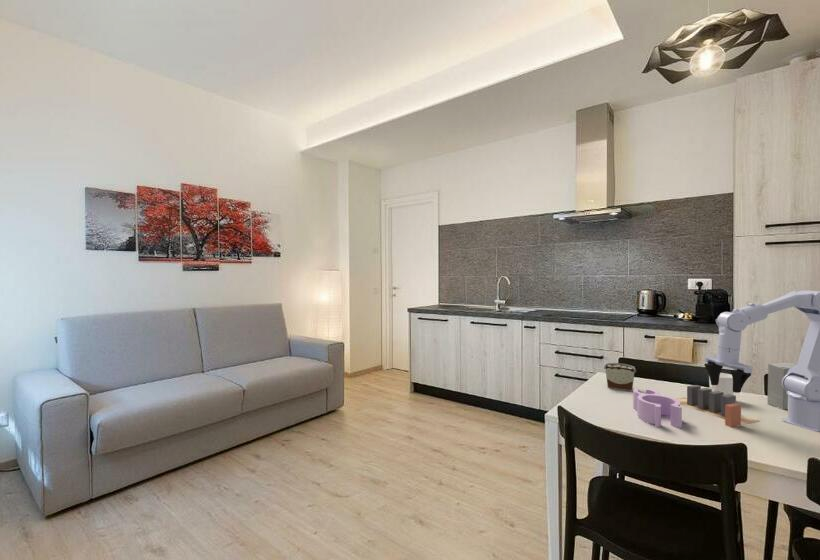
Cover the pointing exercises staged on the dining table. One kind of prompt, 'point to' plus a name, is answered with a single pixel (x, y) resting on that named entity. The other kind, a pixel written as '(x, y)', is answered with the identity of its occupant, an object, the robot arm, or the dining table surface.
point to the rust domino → (732, 415)
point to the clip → (656, 407)
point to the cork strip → (743, 419)
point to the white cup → (723, 384)
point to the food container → (620, 375)
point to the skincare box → (778, 384)
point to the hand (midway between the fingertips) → (725, 388)
